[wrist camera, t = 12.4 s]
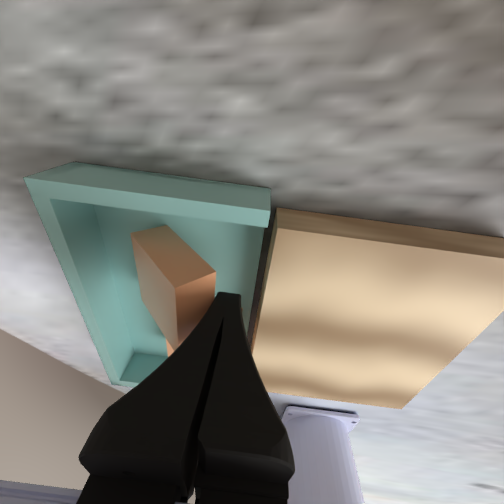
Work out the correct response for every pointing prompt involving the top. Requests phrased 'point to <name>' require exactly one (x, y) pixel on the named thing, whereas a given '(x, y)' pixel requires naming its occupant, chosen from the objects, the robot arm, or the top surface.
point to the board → (369, 306)
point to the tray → (122, 256)
